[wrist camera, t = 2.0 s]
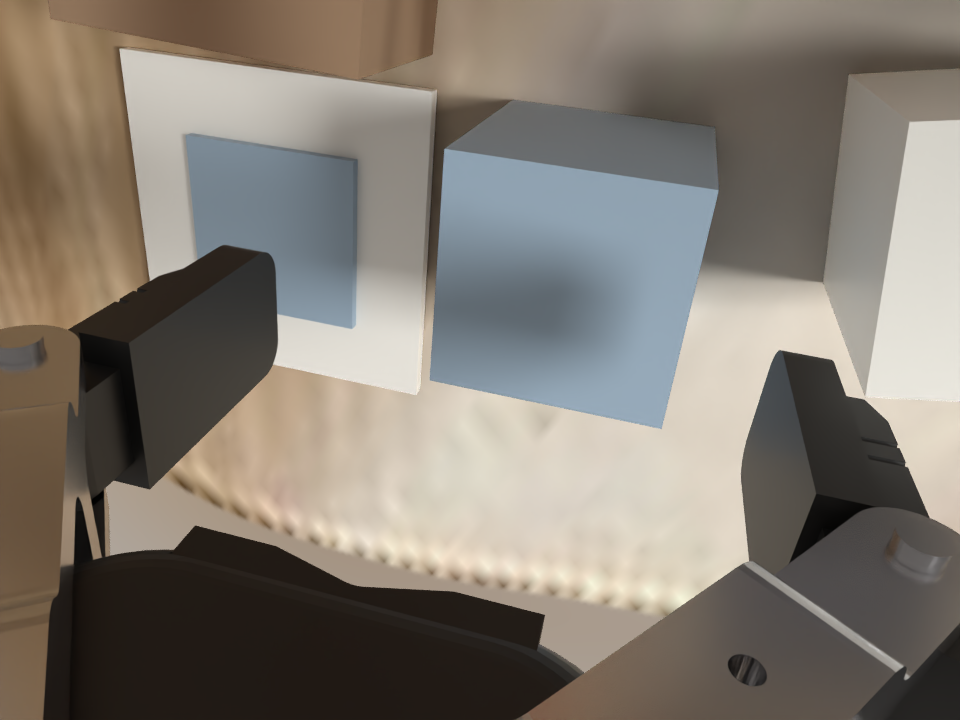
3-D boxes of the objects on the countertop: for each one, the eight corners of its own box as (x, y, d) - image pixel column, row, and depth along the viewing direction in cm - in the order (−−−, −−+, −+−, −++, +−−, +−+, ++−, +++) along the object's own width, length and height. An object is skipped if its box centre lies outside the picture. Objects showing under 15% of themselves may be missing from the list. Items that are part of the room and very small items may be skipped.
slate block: (715, 126, 18) (718, 190, 13) (672, 313, 21) (661, 428, 16) (513, 99, 19) (444, 149, 14) (494, 281, 22) (429, 380, 17)
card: (437, 89, 20) (428, 93, 19) (420, 388, 24) (412, 399, 23) (128, 46, 21) (112, 49, 21) (165, 334, 26) (151, 343, 25)
